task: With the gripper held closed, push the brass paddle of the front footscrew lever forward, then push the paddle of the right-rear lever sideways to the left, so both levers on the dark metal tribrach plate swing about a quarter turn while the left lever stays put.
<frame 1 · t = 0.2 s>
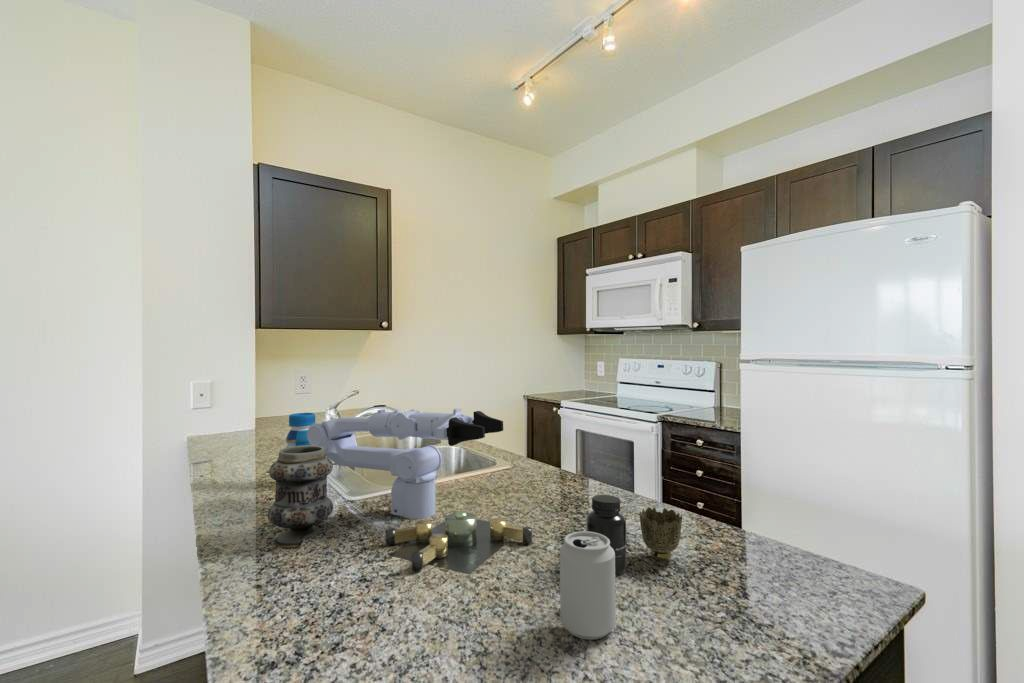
hand: (493, 429, 98), 21 cm above the countertop, tool horizontal, fingers open, 7 cm apart
beverage bottle: (302, 486, 132), on the countertop
lever right: (510, 531, 91), point 3 cm above the countertop, hinge at 0.0°
cup: (660, 559, 86), on the countertop
tribrach plate: (460, 546, 91), on the countertop
lever left: (409, 532, 90), point 3 cm above the countertop, hinge at 0.0°
can: (587, 628, 65), on the countertop
supplement bottle: (606, 569, 82), on the countertop
lever front: (429, 551, 82), point 3 cm above the countertop, hinge at 0.0°
apothecary jar: (301, 539, 96), on the countertop
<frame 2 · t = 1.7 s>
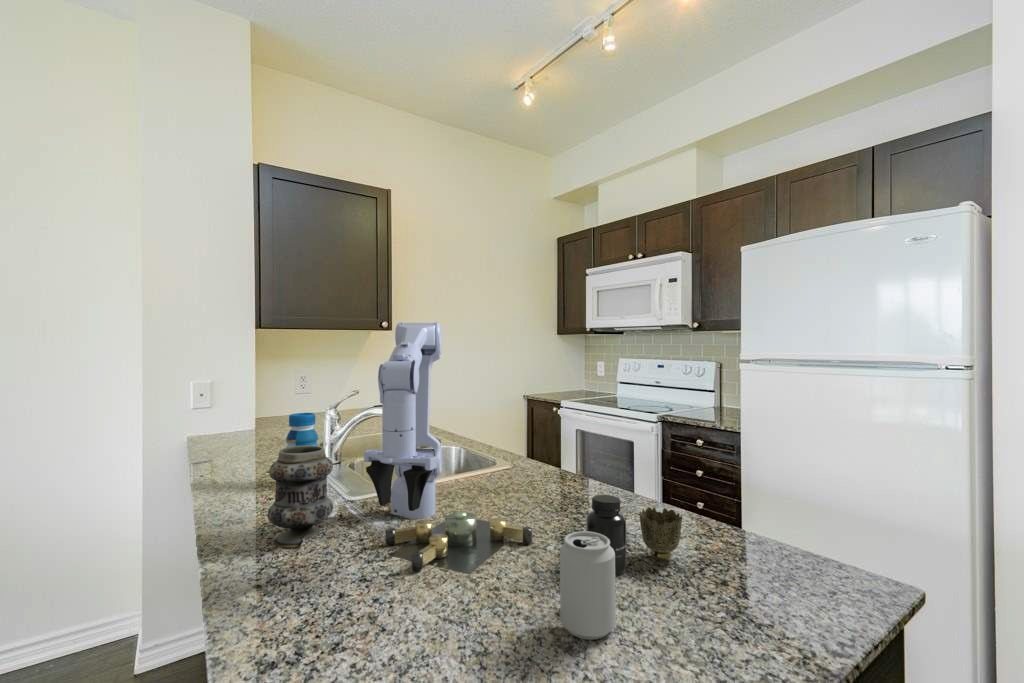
hand: (399, 506, 83), 10 cm above the countertop, tool pointing down, fingers open, 6 cm apart
nothing on the countertop moved.
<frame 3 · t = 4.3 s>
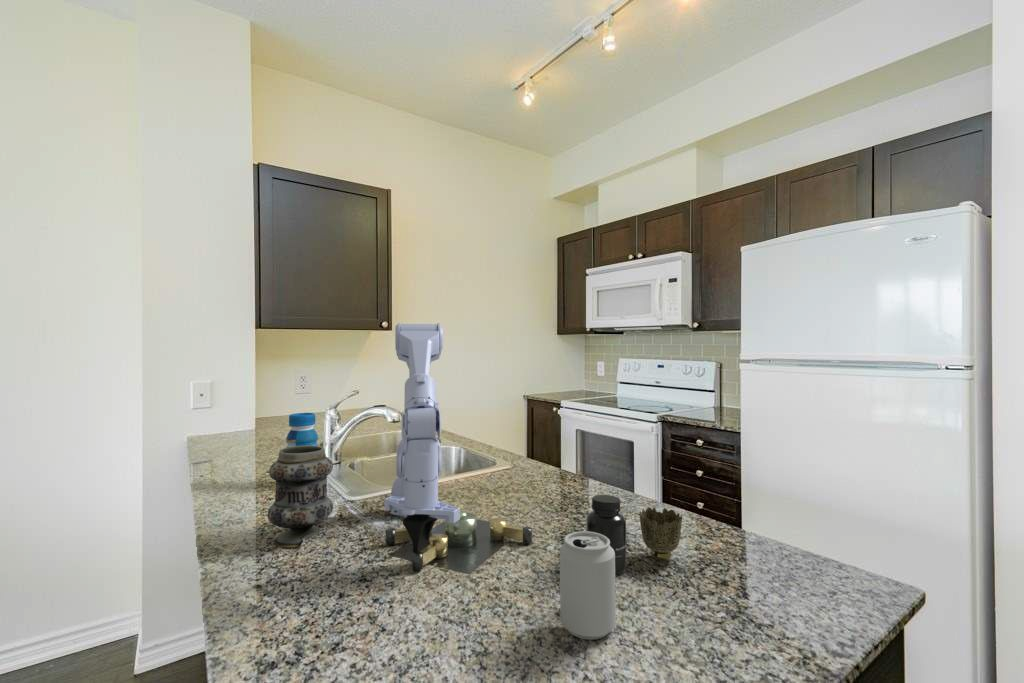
hand: (421, 557, 81), 2 cm above the countertop, tool pointing down, fingers closed, pressing on lever front
lever front: (429, 551, 82), point 3 cm above the countertop, hinge at 0.2°, touching gripper
everything else where it was.
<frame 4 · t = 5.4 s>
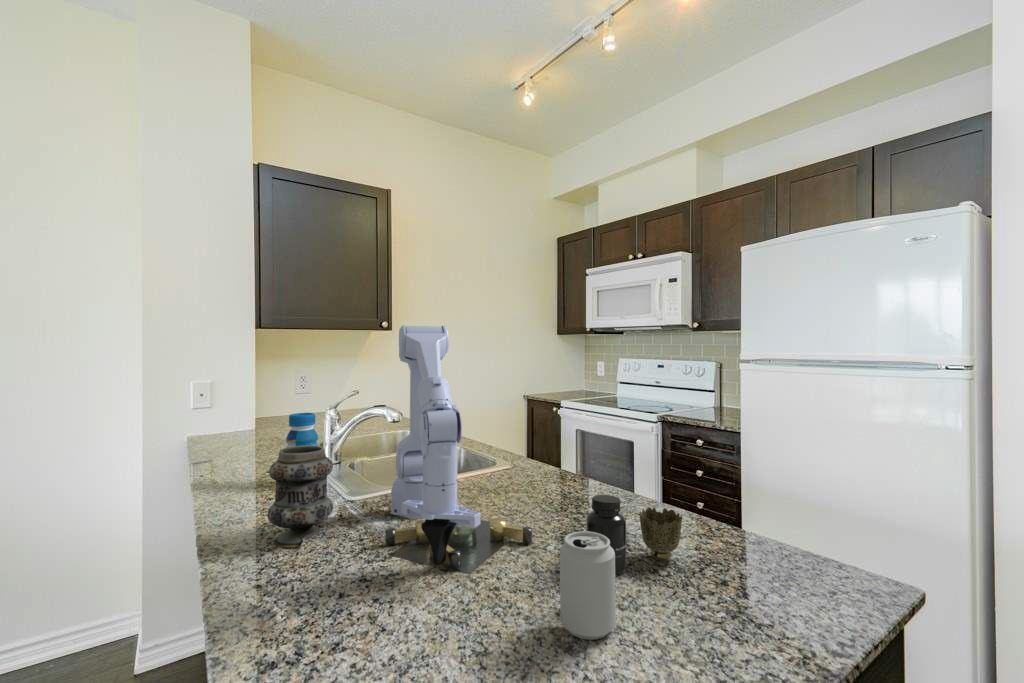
hand: (439, 562, 79), 2 cm above the countertop, tool pointing down, fingers closed, pressing on lever front
lever front: (445, 551, 82), point 3 cm above the countertop, hinge at 60.5°, touching gripper
everything else where it was.
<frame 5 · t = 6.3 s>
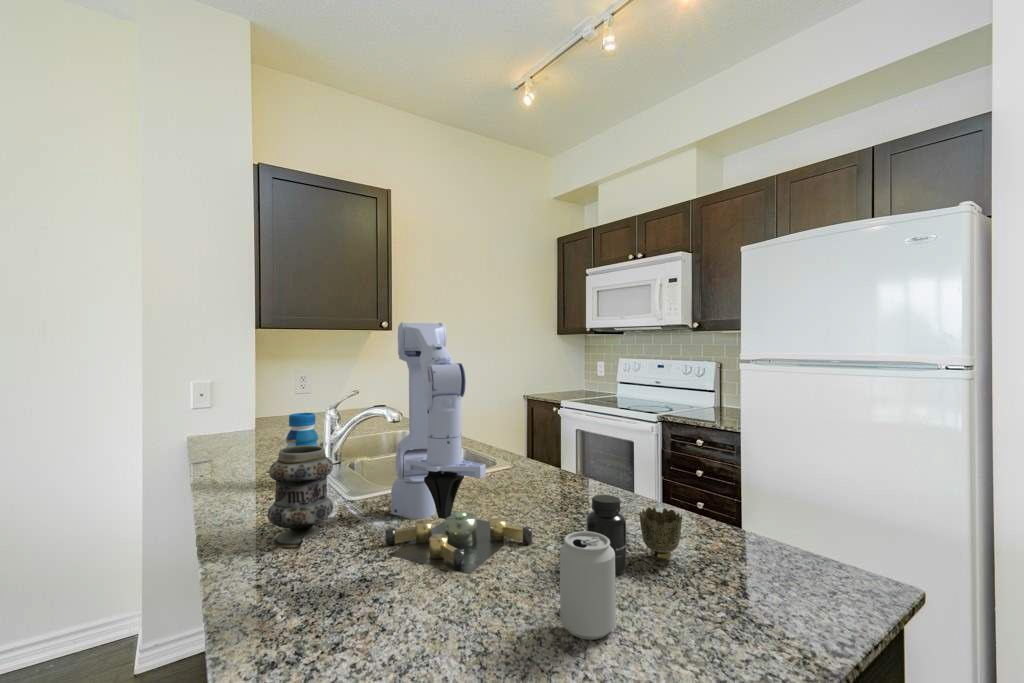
hand: (444, 516, 80), 10 cm above the countertop, tool pointing down, fingers closed
lever front: (447, 550, 82), point 3 cm above the countertop, hinge at 67.2°
everything else where it was.
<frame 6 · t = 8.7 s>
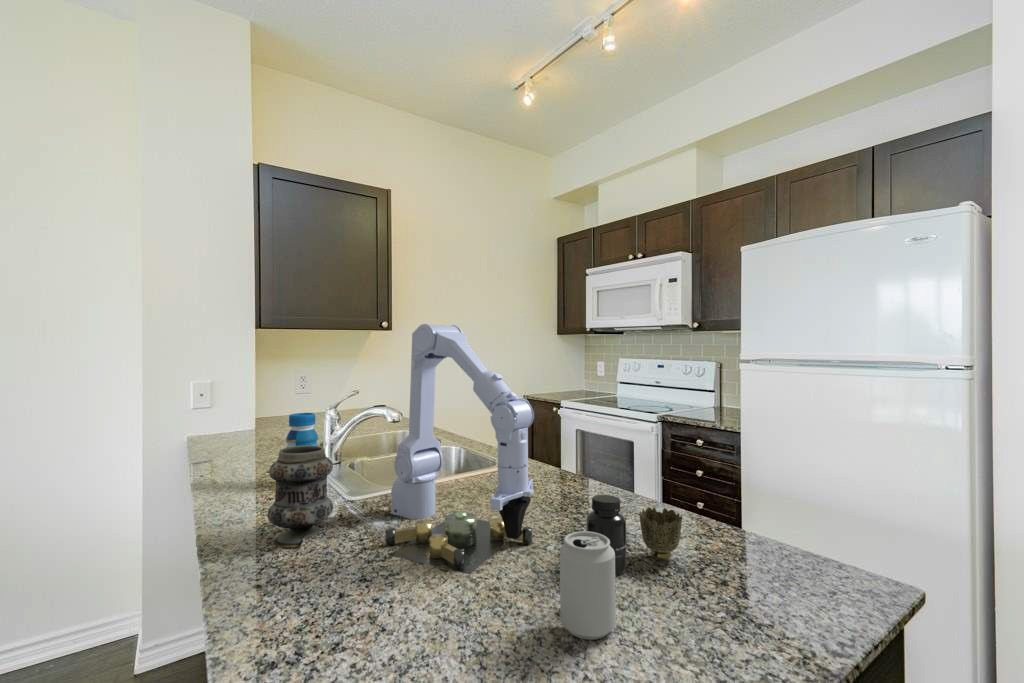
hand: (513, 537, 89), 3 cm above the countertop, tool pointing down, fingers closed, pressing on lever right
lever right: (510, 531, 91), point 3 cm above the countertop, hinge at 0.0°, touching gripper
lever front: (447, 550, 82), point 3 cm above the countertop, hinge at 67.6°
everything else where it was.
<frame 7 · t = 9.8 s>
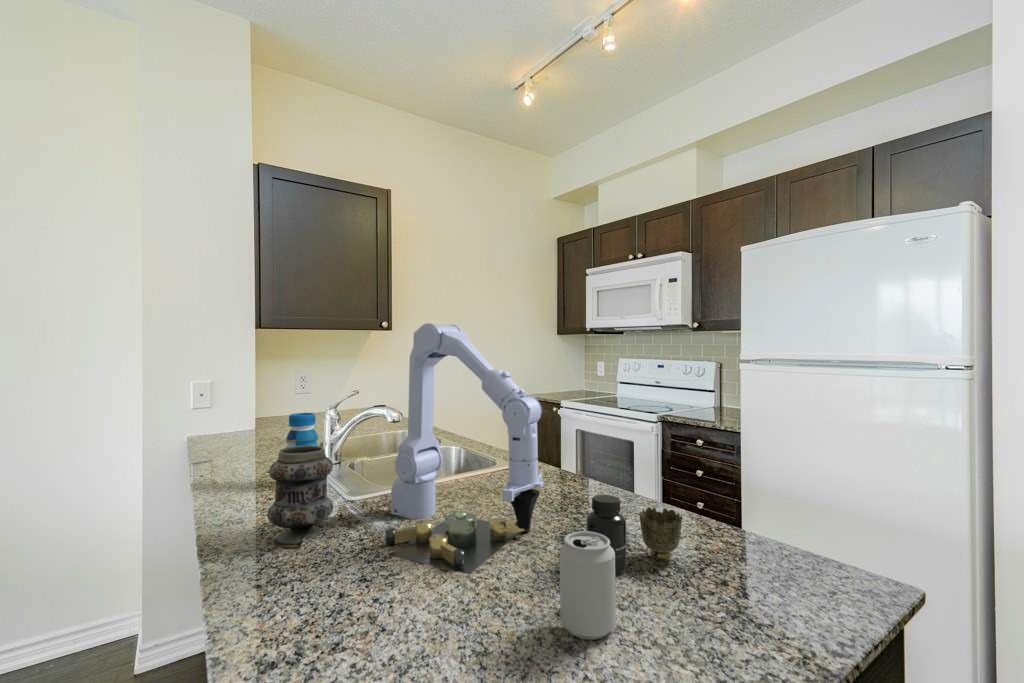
hand: (524, 528, 93), 3 cm above the countertop, tool pointing down, fingers closed, pressing on lever right
lever right: (510, 526, 93), point 3 cm above the countertop, hinge at 53.4°, touching gripper
everything else where it was.
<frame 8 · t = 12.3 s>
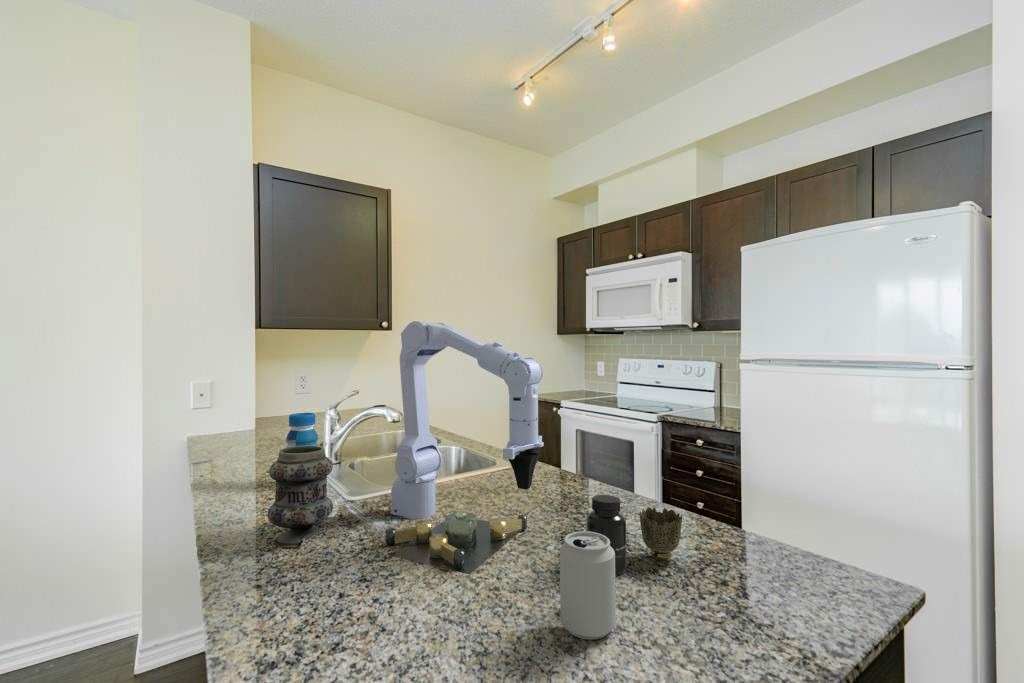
hand: (524, 488, 94), 10 cm above the countertop, tool pointing down, fingers closed
lever right: (509, 525, 94), point 3 cm above the countertop, hinge at 64.9°
everything else where it was.
at the end: lever front at +68° (first picture: +0°); lever right at +65° (first picture: +0°); lever left at +0° (first picture: +0°) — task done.
